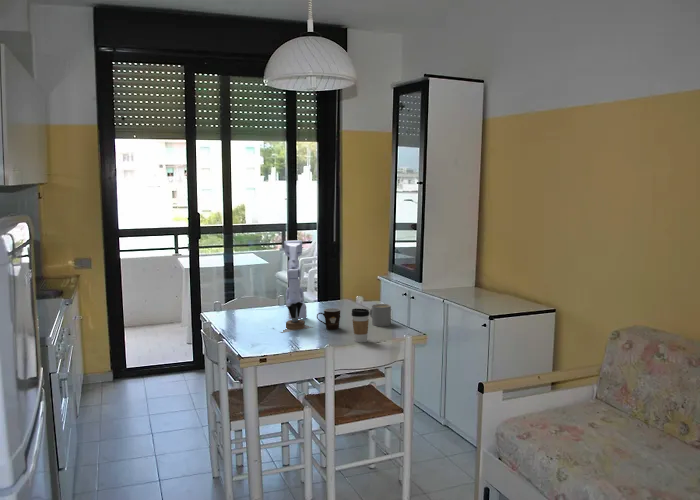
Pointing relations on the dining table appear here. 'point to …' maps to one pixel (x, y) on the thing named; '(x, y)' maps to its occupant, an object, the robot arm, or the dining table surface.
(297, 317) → the dowel
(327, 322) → the coffee mug
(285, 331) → the mat
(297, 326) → the faceted ring
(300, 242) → the robot arm
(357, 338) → the coffee cup
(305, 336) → the dining table surface
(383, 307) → the coffee mug
